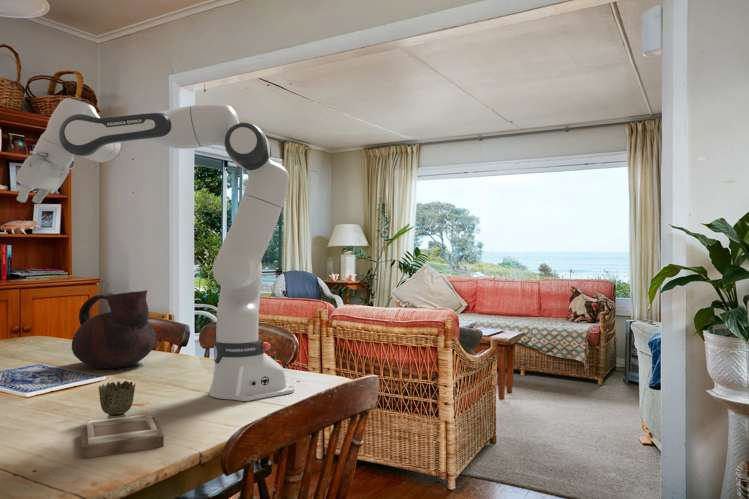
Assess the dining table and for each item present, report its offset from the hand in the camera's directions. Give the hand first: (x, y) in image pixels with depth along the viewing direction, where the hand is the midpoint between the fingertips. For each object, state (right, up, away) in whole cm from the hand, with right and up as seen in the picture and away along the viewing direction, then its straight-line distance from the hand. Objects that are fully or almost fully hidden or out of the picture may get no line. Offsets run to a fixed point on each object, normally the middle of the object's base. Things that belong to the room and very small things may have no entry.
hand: (28, 202), depth 143 cm
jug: (+5, -51, +37) cm, 63 cm away
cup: (+33, -51, -21) cm, 64 cm away
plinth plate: (+40, -51, -34) cm, 73 cm away
